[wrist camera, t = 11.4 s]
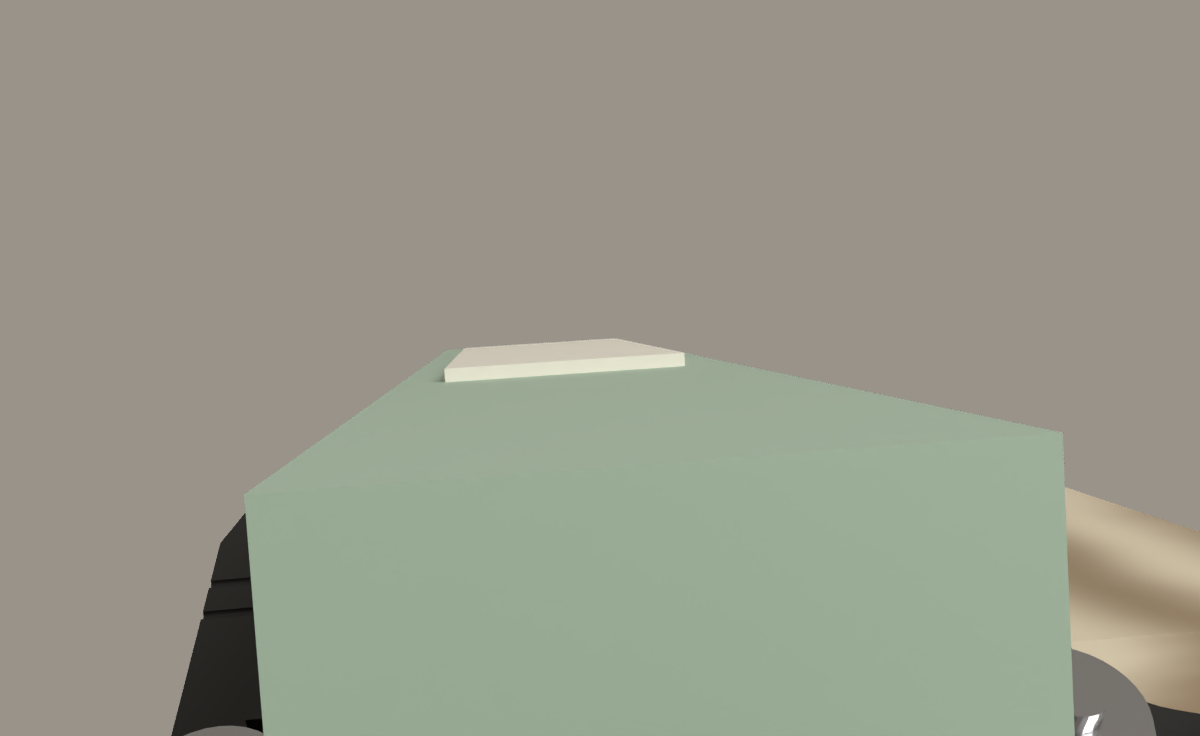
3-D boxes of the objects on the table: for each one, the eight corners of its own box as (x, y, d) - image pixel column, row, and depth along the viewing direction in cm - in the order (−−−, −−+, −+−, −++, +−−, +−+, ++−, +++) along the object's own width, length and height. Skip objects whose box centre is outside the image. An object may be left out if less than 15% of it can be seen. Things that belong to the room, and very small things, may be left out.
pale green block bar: (1093, 1197, 7) (1060, 400, 7) (309, 1308, 7) (240, 462, 7) (628, 507, 33) (617, 332, 33) (459, 520, 33) (446, 343, 32)
